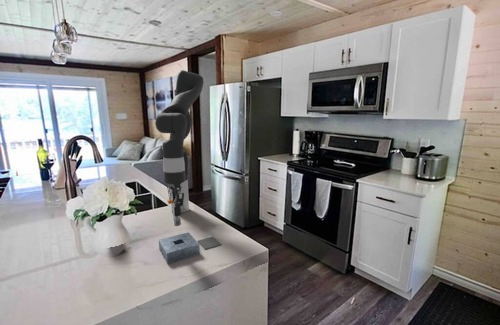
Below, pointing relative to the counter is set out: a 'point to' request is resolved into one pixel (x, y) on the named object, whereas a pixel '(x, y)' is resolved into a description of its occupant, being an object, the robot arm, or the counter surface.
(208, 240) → the mat
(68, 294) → the counter surface
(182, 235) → the block
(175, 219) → the chuck key
